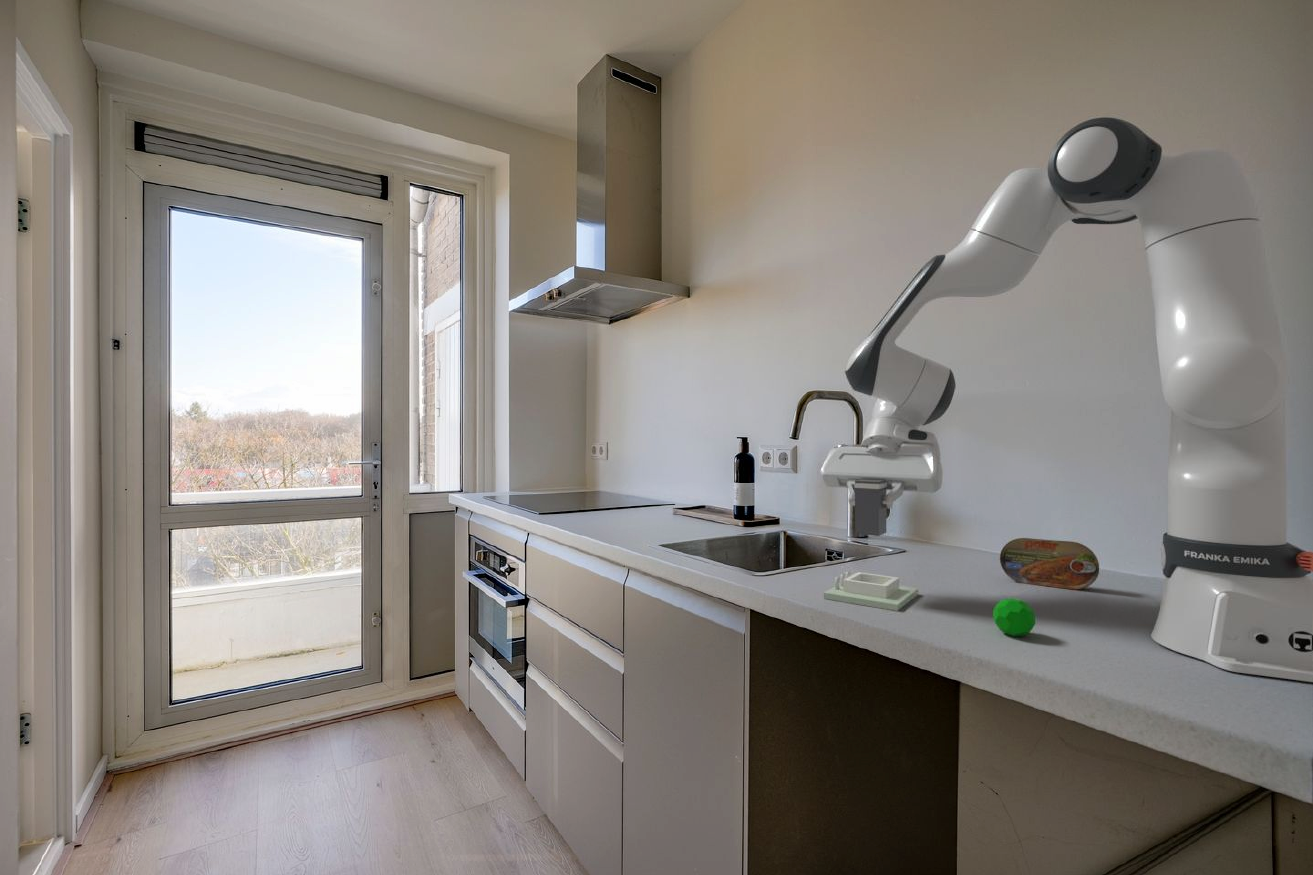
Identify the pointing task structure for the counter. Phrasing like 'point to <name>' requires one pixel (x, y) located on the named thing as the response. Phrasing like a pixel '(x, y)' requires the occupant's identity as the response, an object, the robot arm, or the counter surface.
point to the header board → (871, 591)
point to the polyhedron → (1014, 617)
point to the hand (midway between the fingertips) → (869, 504)
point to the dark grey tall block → (870, 507)
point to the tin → (1049, 563)
